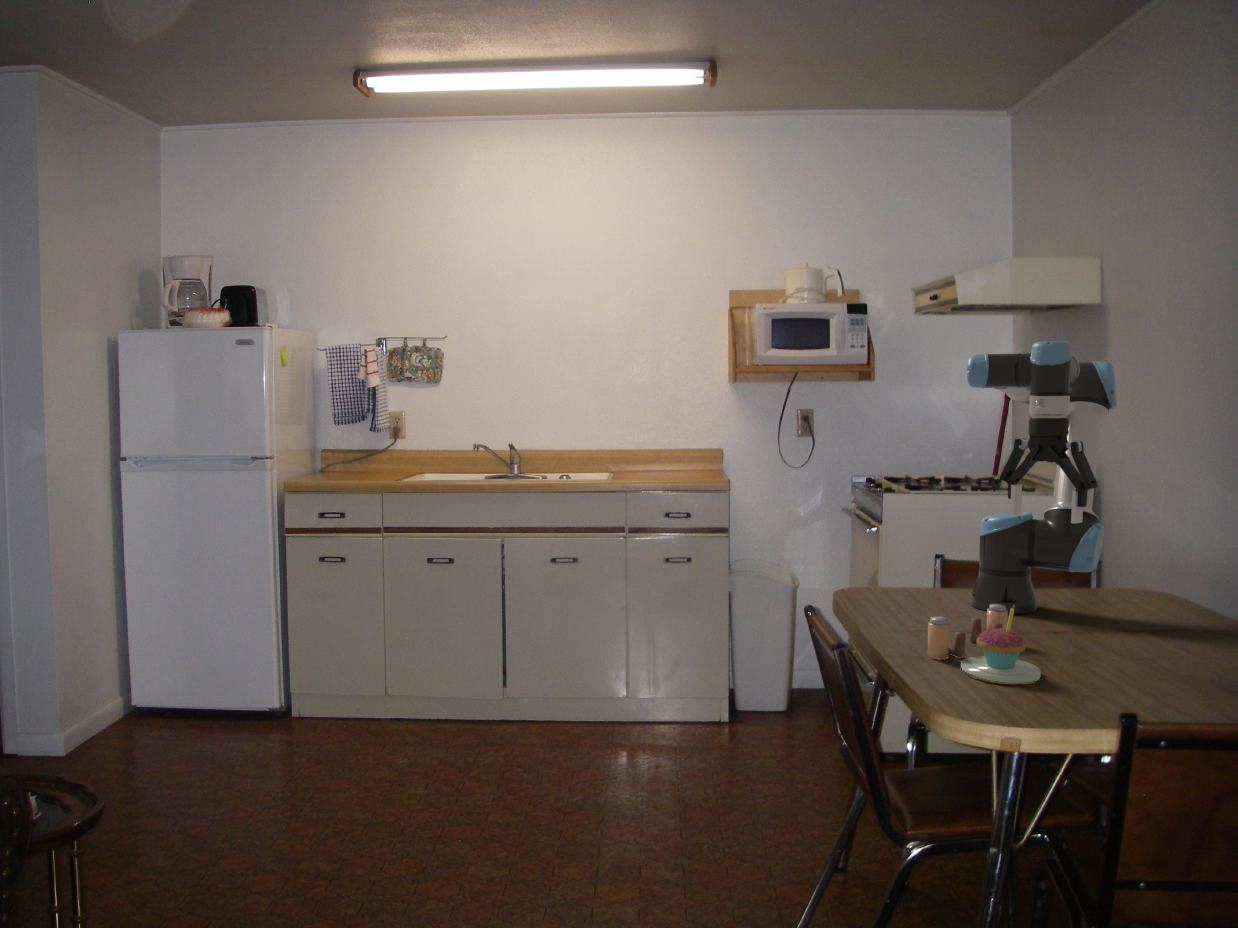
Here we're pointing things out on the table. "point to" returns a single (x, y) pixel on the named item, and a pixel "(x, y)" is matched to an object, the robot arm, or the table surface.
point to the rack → (975, 632)
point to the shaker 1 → (938, 637)
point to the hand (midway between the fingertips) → (1045, 518)
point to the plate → (1001, 671)
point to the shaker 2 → (996, 615)
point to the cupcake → (1001, 645)
